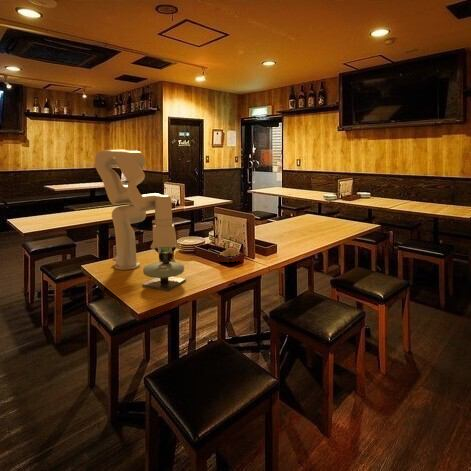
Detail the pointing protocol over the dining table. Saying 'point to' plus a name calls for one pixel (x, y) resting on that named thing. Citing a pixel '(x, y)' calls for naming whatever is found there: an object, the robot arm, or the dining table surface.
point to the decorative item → (230, 252)
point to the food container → (167, 250)
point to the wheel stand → (164, 283)
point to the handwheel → (163, 268)
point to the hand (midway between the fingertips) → (165, 260)
